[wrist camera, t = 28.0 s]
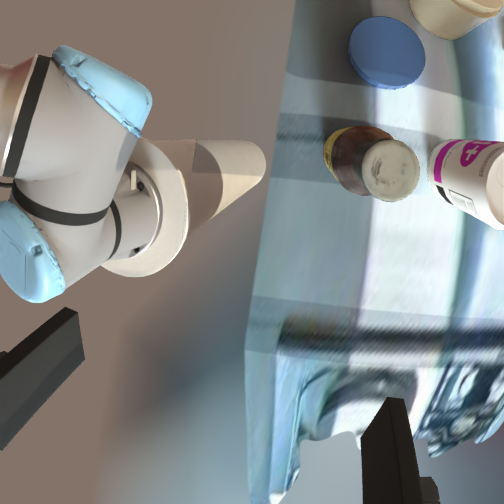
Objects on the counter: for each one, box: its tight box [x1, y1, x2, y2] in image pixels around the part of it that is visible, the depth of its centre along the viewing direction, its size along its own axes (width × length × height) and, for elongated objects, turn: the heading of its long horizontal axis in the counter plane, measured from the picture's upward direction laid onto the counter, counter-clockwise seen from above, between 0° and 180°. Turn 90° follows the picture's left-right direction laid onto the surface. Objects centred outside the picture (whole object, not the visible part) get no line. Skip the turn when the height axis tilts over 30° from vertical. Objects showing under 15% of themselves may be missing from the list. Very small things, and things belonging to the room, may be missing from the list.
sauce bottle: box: [323, 126, 420, 202], centre depth 27 cm, size 6×6×20 cm
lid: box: [347, 16, 425, 90], centre depth 30 cm, size 10×10×2 cm
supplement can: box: [427, 139, 504, 230], centre depth 27 cm, size 8×8×15 cm
